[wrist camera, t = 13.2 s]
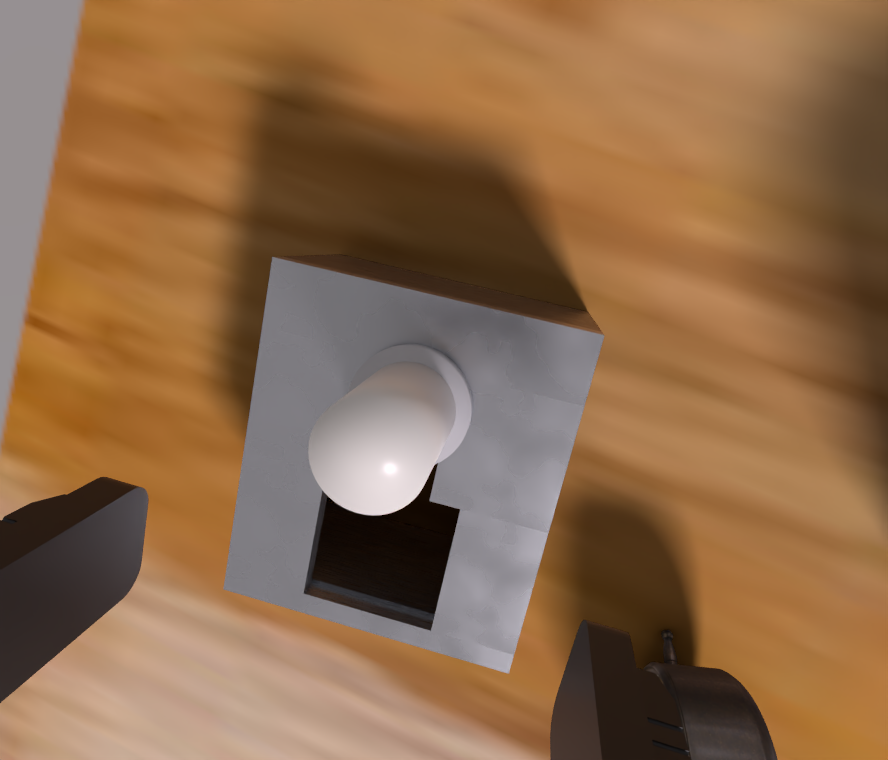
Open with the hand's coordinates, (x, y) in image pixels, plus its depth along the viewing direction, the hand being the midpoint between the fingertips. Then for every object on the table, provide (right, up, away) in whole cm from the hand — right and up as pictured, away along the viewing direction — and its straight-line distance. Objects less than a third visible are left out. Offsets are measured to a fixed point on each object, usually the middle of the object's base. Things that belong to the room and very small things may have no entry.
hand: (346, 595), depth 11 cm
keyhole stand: (+1, +1, +25) cm, 25 cm away
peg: (+1, +3, +19) cm, 19 cm away
